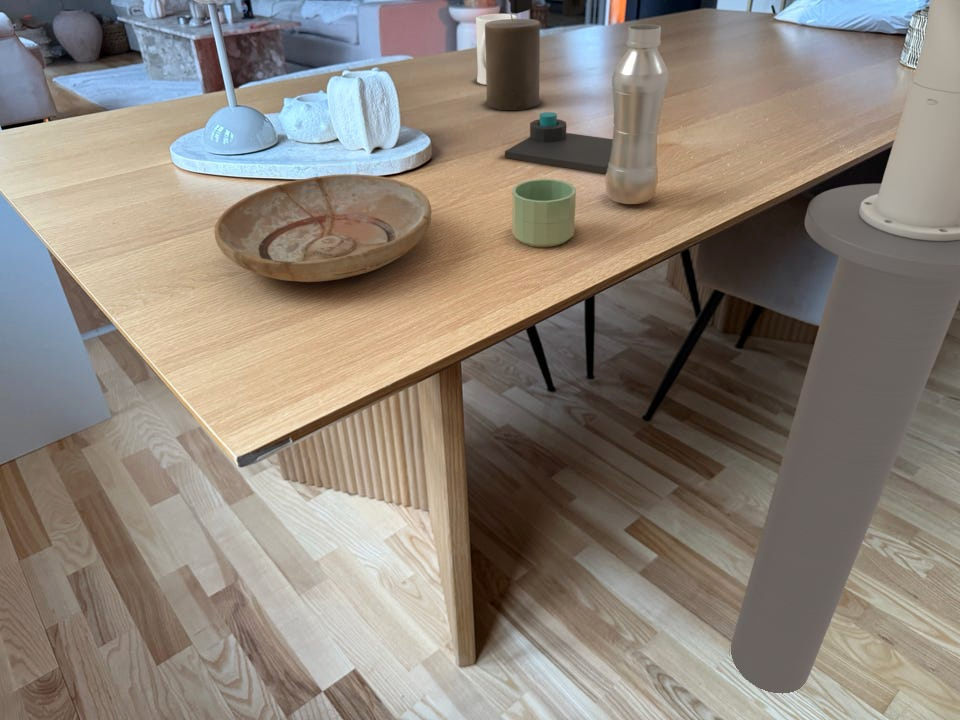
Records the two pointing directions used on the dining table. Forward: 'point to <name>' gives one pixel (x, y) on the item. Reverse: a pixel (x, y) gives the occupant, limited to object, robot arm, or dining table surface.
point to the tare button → (548, 119)
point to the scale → (563, 148)
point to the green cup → (543, 212)
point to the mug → (481, 42)
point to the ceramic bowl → (324, 227)
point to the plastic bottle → (636, 117)
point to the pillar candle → (512, 63)
